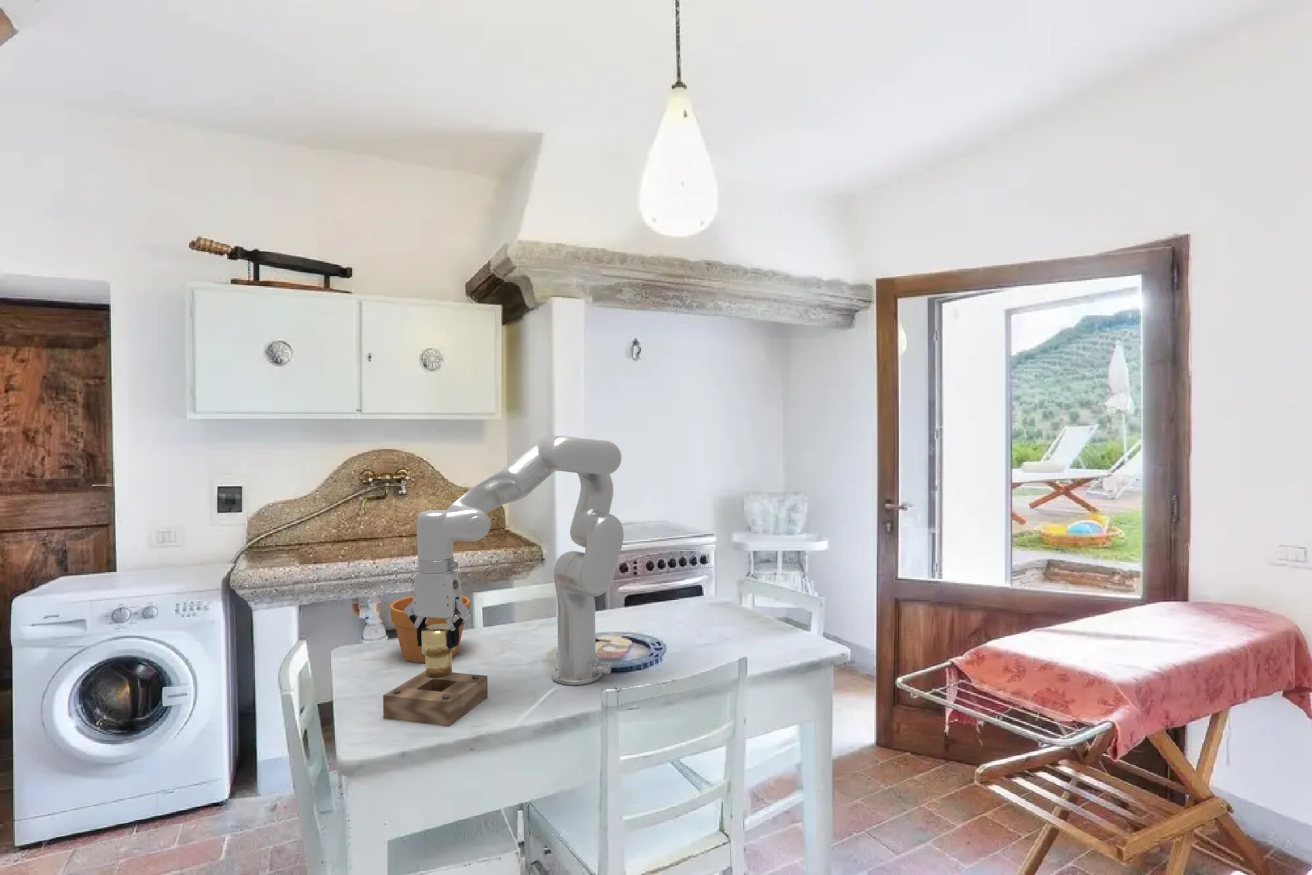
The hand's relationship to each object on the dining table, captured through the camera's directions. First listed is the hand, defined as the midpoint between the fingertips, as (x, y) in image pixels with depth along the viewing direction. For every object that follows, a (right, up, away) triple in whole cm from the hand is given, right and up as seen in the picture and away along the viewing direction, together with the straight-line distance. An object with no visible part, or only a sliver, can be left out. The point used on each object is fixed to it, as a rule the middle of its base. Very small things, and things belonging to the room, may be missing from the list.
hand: (438, 644), depth 154 cm
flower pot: (-14, -15, +39) cm, 44 cm away
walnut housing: (0, -15, 0) cm, 15 cm away
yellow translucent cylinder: (0, -6, 0) cm, 6 cm away
